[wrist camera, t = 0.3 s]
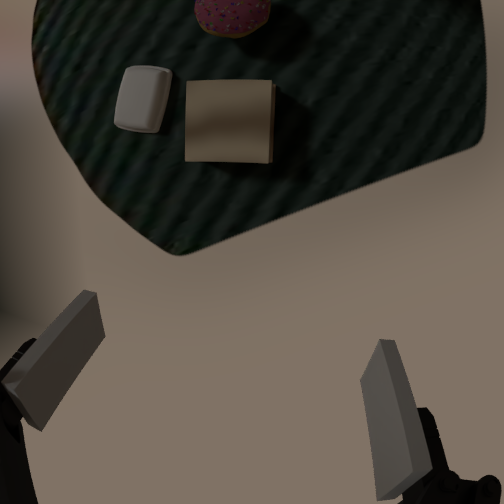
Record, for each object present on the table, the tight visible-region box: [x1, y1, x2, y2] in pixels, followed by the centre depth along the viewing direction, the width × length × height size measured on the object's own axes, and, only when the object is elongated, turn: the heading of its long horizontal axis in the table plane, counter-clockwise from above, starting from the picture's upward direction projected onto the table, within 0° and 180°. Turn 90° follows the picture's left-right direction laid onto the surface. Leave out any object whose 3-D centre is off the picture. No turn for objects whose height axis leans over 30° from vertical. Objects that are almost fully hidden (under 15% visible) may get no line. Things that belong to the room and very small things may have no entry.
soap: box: [114, 66, 172, 133], centre depth 33 cm, size 9×7×3 cm
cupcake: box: [194, 0, 271, 38], centre depth 24 cm, size 9×8×12 cm
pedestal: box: [185, 80, 276, 163], centre depth 32 cm, size 10×10×5 cm
